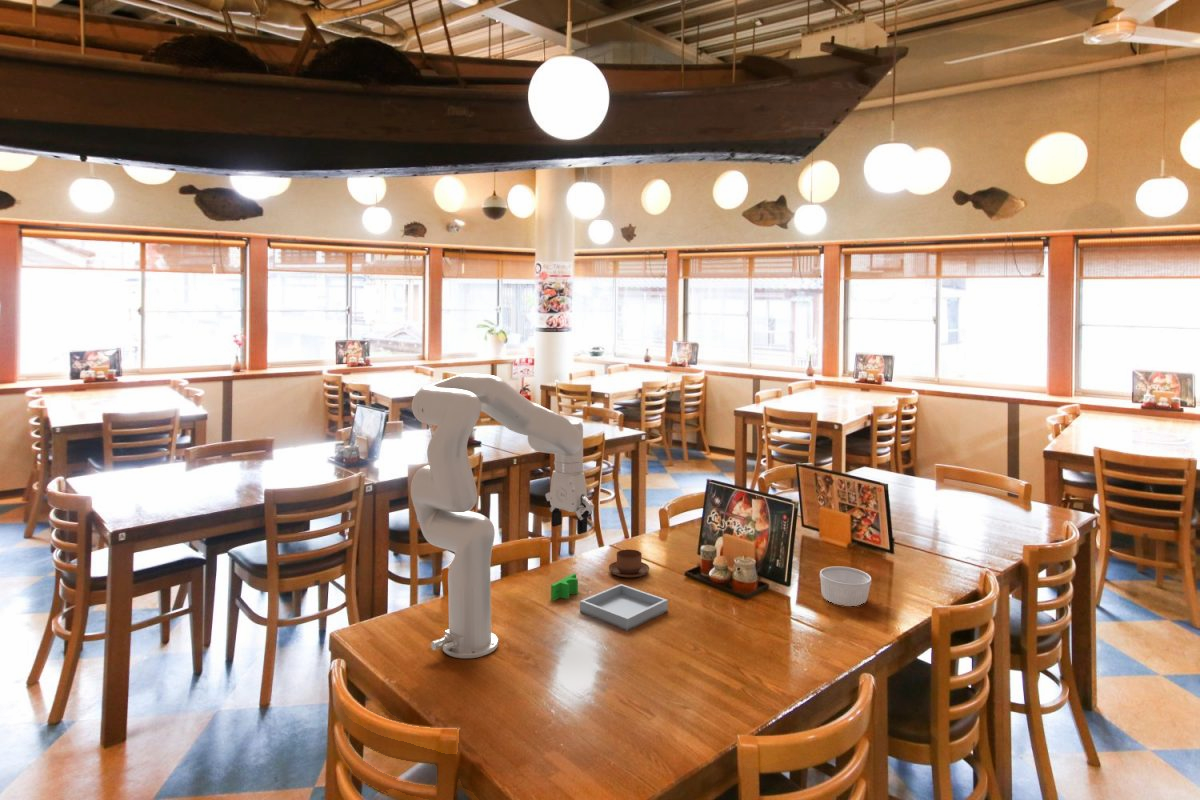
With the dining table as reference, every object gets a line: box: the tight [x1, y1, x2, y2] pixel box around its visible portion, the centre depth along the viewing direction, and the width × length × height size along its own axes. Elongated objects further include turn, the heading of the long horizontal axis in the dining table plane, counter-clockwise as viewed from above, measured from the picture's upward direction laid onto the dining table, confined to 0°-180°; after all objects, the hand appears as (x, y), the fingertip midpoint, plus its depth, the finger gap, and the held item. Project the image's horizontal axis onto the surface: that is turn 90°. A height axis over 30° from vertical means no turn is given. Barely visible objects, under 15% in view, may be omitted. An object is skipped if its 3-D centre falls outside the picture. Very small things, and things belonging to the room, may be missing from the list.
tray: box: [579, 583, 669, 632], centre depth 185 cm, size 16×16×3 cm
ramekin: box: [819, 565, 872, 607], centre depth 194 cm, size 13×13×7 cm
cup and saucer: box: [608, 549, 650, 579], centre depth 213 cm, size 12×12×6 cm
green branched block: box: [550, 573, 579, 601], centre depth 196 cm, size 10×4×4 cm, turn 147°
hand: (569, 529), depth 194 cm, fingers open, 9 cm apart
